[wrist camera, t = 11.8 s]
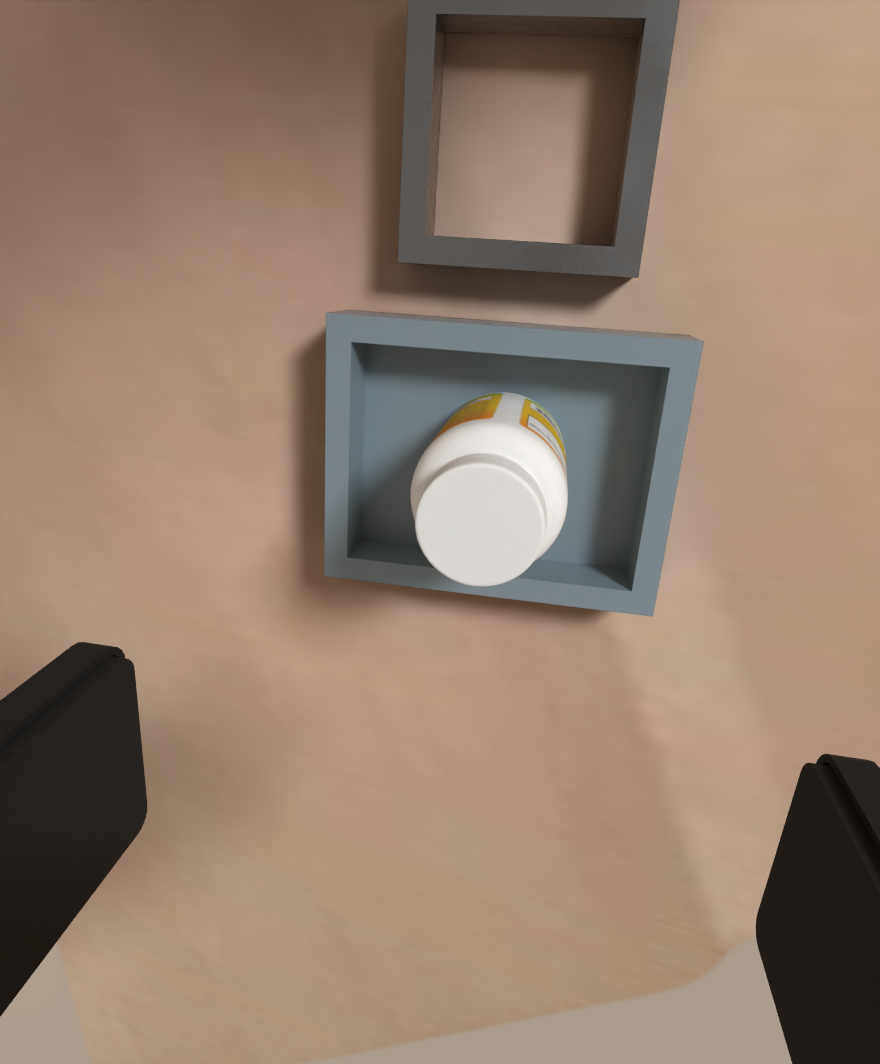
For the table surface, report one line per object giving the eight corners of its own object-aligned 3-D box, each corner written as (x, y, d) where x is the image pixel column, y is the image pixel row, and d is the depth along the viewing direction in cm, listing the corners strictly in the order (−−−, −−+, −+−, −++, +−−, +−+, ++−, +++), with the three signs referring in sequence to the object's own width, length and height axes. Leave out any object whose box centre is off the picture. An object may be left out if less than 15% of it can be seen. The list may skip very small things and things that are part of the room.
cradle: (419, -1, 26) (408, -22, 24) (673, 4, 25) (682, -19, 23) (407, 263, 29) (397, 262, 27) (632, 277, 28) (638, 277, 26)
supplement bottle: (428, 497, 32) (377, 585, 22) (453, 377, 30) (407, 421, 21) (548, 526, 31) (544, 627, 22) (580, 406, 29) (591, 463, 20)
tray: (347, 309, 30) (326, 313, 27) (689, 335, 28) (703, 341, 25) (343, 551, 34) (324, 576, 31) (644, 587, 32) (653, 616, 29)
